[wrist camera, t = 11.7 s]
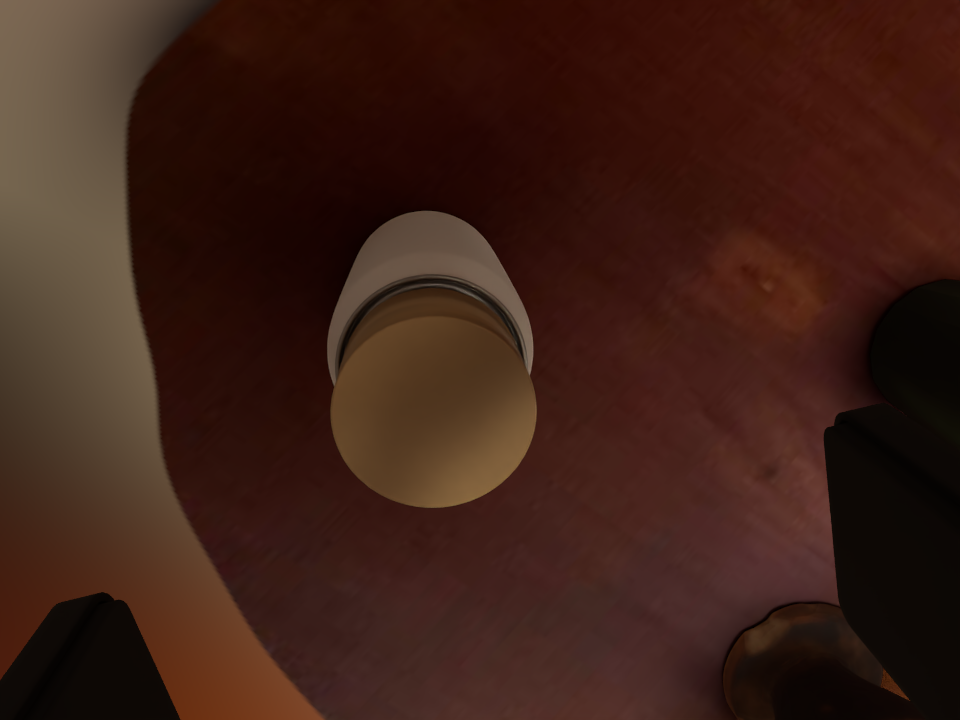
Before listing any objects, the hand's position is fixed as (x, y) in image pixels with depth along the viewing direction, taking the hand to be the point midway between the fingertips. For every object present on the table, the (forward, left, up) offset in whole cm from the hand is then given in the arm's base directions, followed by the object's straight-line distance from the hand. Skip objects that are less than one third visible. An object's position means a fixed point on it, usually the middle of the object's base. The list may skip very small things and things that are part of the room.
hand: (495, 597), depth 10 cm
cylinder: (+1, -1, -13) cm, 13 cm away
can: (0, -1, -25) cm, 25 cm away
